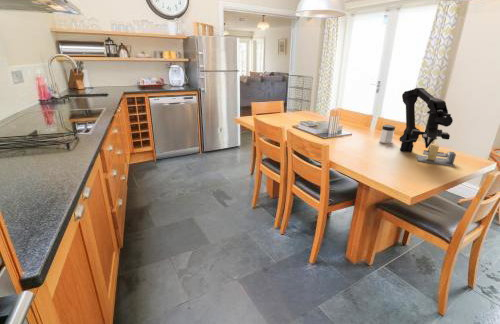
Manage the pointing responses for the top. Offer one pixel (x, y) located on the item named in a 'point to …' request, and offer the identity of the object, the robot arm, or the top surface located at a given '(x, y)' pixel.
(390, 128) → the jar
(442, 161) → the shaft stand
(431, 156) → the tan notched block
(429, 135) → the robot arm
